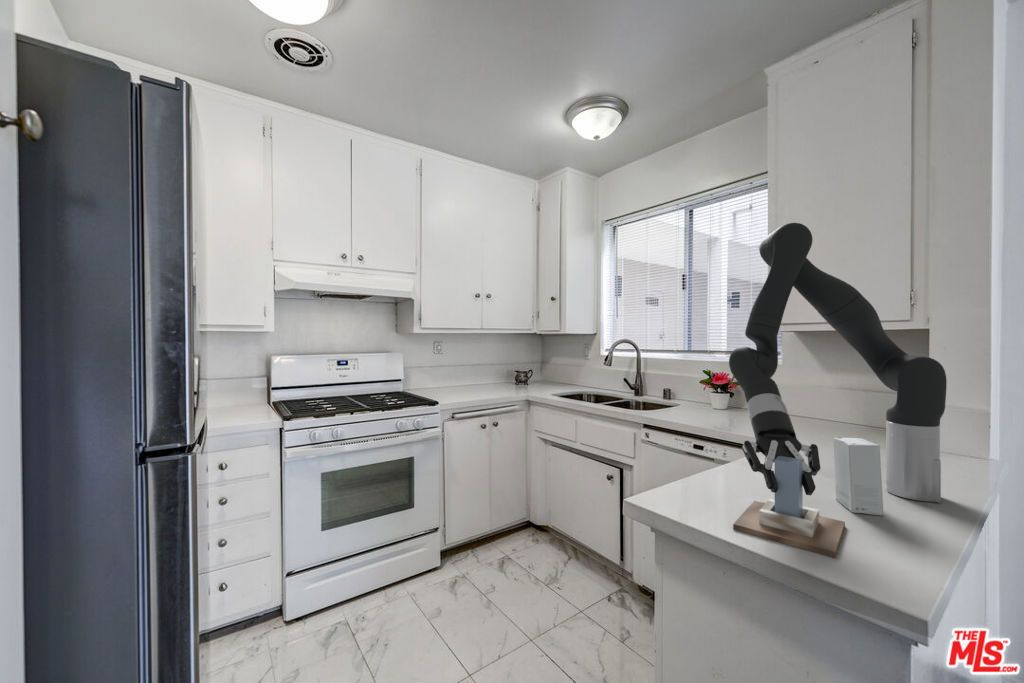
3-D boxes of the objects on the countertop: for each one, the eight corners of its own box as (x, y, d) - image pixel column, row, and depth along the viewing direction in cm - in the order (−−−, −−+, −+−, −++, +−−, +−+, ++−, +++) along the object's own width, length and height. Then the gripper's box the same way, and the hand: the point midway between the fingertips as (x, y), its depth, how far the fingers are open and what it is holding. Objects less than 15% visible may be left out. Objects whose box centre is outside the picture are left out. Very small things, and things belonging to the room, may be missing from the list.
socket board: (844, 526, 82) (844, 509, 82) (835, 557, 71) (835, 537, 71) (754, 505, 93) (754, 489, 93) (733, 528, 82) (733, 511, 82)
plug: (802, 514, 82) (802, 459, 82) (798, 521, 79) (798, 464, 79) (779, 508, 85) (778, 455, 85) (774, 515, 82) (774, 459, 82)
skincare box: (884, 516, 87) (884, 446, 87) (849, 513, 89) (849, 444, 89) (863, 501, 95) (863, 437, 95) (832, 498, 97) (832, 435, 97)
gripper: (737, 407, 91) (756, 480, 79) (812, 410, 88) (842, 486, 76) (730, 426, 96) (747, 497, 85) (801, 429, 93) (828, 503, 81)
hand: (792, 491), depth 80 cm, fingers closed on plug, 5 cm apart
